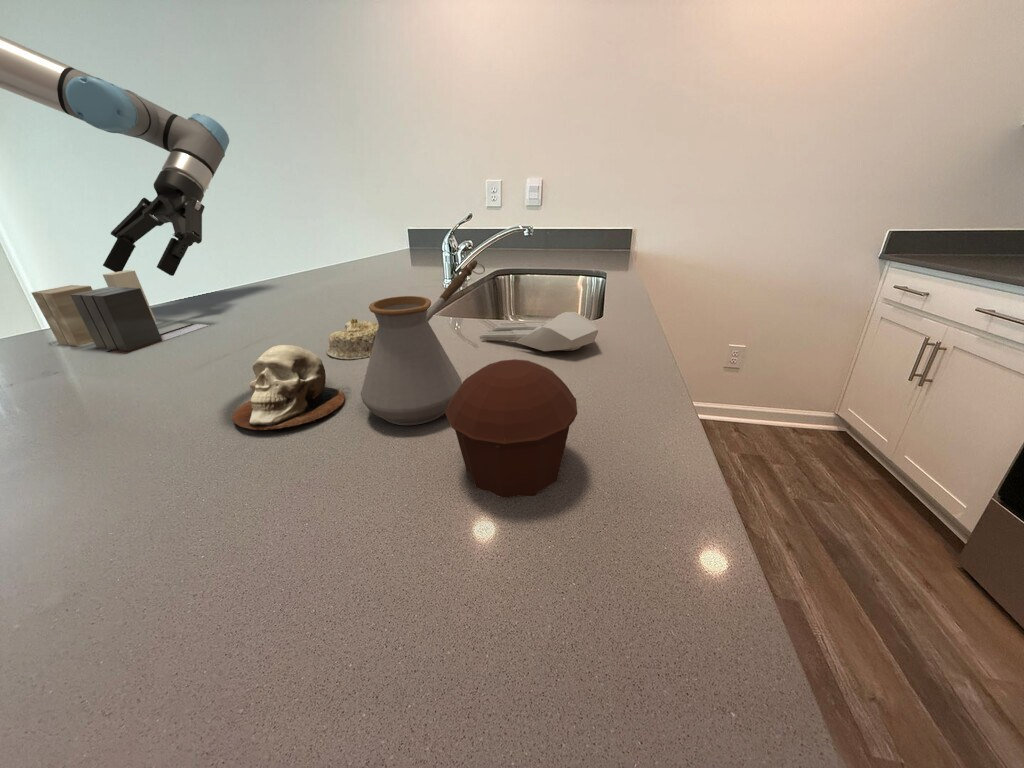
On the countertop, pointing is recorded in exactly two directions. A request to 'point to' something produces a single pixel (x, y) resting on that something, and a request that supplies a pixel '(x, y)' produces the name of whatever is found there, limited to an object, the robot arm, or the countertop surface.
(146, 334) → the grey stand
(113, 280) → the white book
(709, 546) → the countertop surface
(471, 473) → the muffin
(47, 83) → the robot arm
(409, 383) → the coffee pot
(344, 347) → the cake
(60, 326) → the tan wooden block
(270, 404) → the skull
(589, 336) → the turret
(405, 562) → the countertop surface
